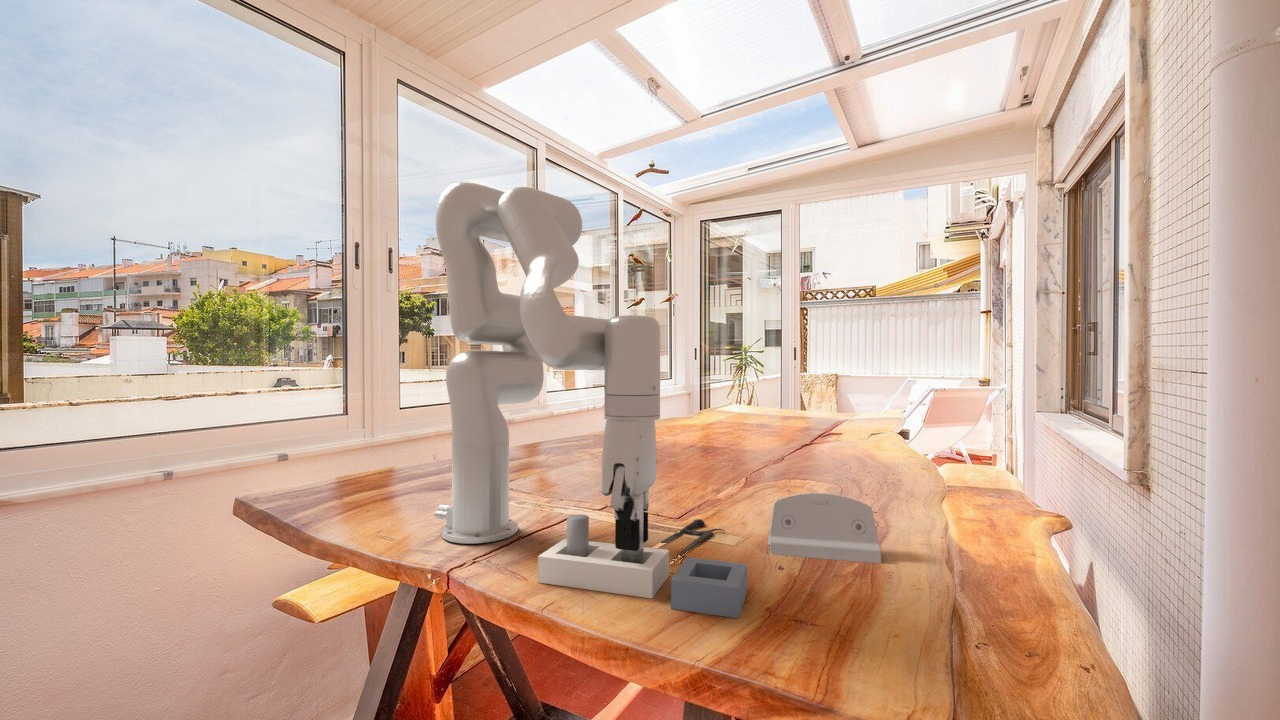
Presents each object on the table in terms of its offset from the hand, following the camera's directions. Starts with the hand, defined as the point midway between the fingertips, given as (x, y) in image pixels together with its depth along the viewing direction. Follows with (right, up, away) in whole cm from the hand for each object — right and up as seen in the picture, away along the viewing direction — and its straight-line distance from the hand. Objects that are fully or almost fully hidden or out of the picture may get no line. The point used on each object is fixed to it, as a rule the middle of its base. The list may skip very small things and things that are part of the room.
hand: (632, 543), depth 73 cm
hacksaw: (+9, -6, +15) cm, 19 cm away
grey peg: (0, -4, 0) cm, 4 cm away
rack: (-4, -5, +1) cm, 6 cm away
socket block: (+10, -5, -5) cm, 12 cm away
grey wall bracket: (+30, -6, +13) cm, 33 cm away
